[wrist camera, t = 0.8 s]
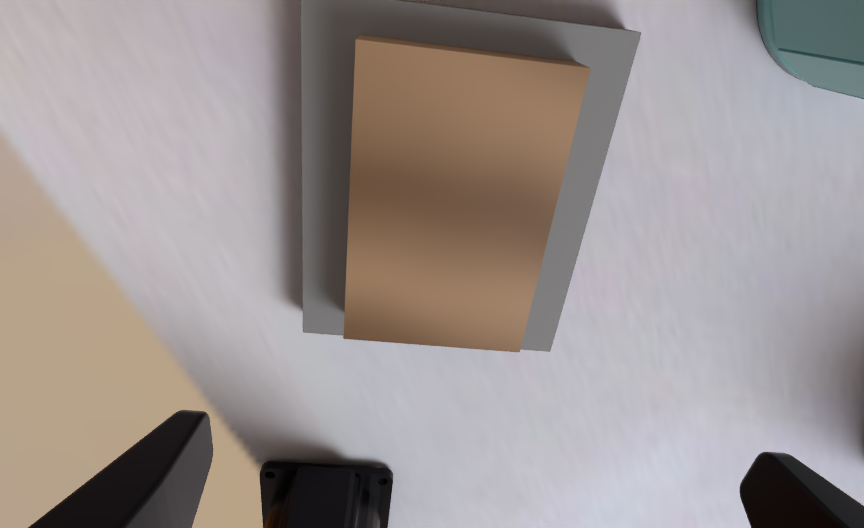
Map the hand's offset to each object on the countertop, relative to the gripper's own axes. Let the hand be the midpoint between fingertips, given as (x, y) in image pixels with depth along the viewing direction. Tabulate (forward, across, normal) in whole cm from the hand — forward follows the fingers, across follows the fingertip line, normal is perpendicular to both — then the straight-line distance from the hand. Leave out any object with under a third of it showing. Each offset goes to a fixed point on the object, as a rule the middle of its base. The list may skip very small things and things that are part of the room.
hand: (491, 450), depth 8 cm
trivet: (+12, 0, 0) cm, 12 cm away
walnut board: (+11, 0, 0) cm, 11 cm away
